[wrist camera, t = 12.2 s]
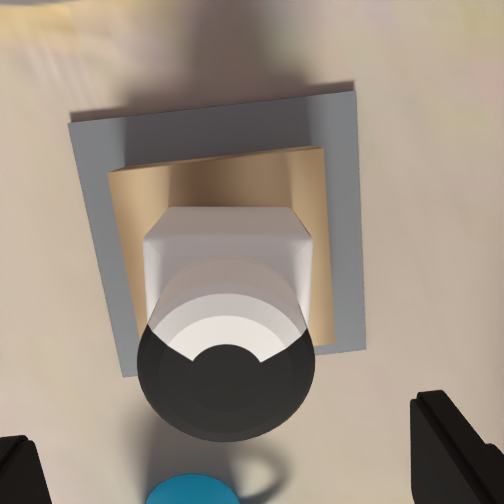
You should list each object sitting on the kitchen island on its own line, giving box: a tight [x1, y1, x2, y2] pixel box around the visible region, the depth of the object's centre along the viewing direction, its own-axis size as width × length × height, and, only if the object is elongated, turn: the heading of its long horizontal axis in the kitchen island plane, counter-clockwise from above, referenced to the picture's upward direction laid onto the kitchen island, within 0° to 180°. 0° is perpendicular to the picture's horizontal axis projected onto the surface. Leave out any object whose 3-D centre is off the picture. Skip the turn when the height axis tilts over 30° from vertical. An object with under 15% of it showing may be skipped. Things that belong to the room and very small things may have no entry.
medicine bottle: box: [137, 207, 315, 442], centre depth 20 cm, size 7×7×12 cm
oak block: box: [107, 146, 335, 346], centre depth 27 cm, size 12×12×4 cm
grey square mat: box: [68, 91, 366, 377], centre depth 30 cm, size 18×18×1 cm
